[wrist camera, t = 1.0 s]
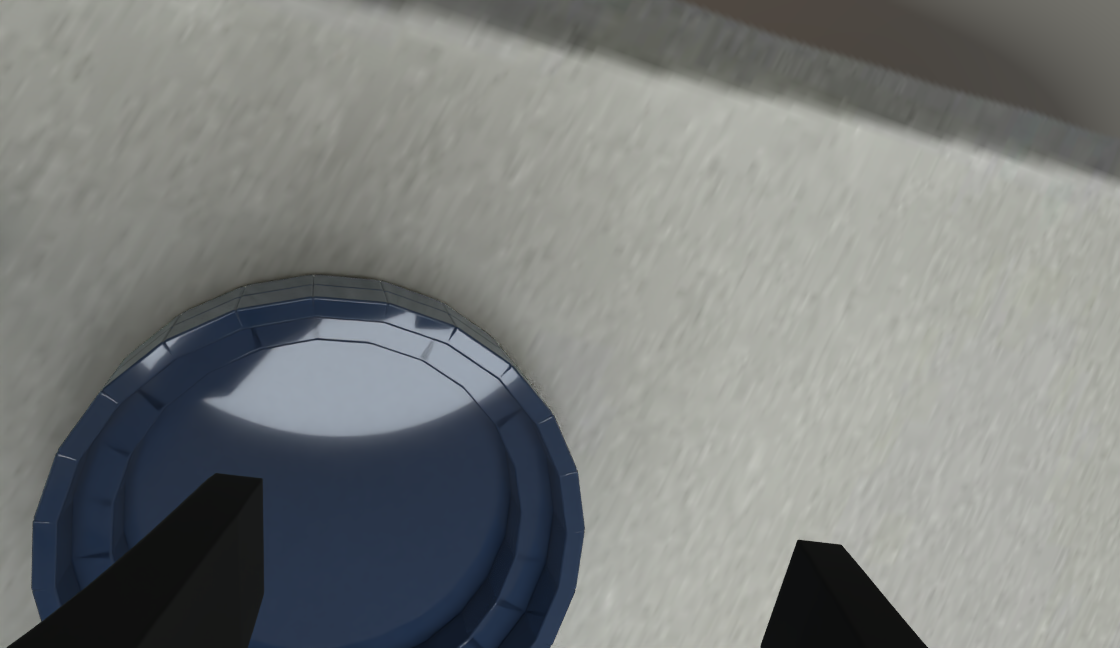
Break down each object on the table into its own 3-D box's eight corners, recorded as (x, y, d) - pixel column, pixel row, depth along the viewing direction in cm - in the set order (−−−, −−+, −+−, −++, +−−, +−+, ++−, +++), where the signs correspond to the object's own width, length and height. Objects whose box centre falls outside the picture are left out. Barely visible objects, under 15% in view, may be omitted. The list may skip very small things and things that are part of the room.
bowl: (136, 758, 30) (110, 851, 27) (9, 319, 26) (-42, 355, 23) (575, 644, 34) (607, 712, 30) (521, 236, 30) (551, 256, 26)
